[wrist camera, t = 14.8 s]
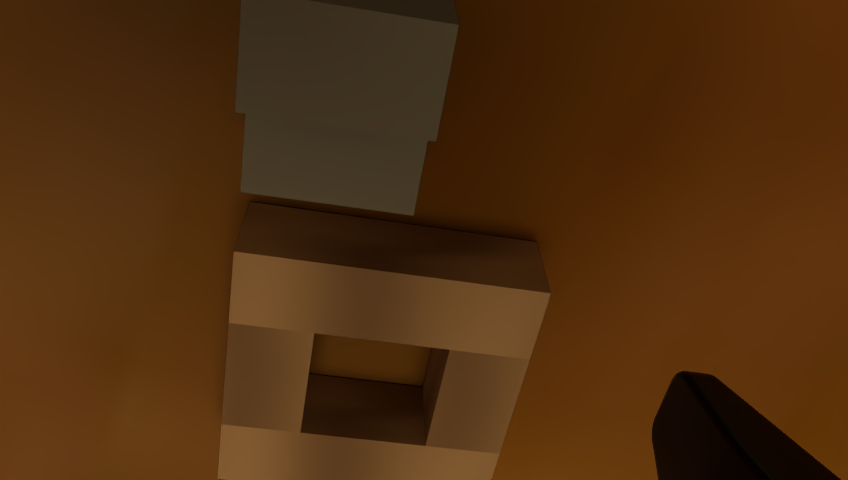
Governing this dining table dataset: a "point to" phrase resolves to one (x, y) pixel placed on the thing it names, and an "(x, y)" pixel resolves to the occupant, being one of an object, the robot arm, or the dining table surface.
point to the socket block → (380, 321)
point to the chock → (342, 97)
